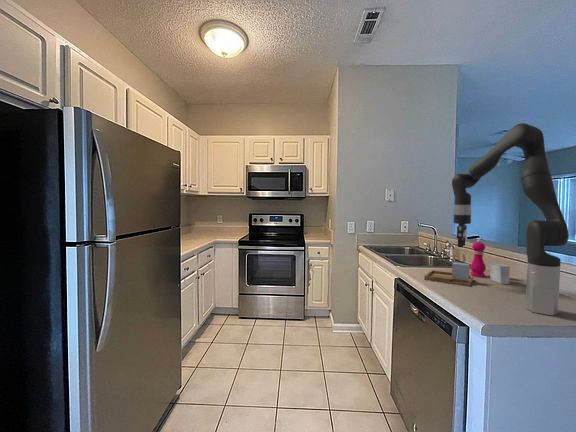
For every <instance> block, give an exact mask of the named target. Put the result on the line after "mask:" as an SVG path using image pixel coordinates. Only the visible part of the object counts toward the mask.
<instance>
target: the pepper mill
mask: <svg viewBox="0 0 576 432" xmlns="http://www.w3.org/2000/svg"><path fill="white" fill-rule="evenodd" d="M471 248H472V250H473V251H472V253H473V260H472V261H471V263H470V265H469V270H471V271H470V276H473V278H474V277H475V278H476V277H477V278H484V277H485V276H486V275H485V273H484V272H486V271H487V270H486V269H487V268H486V263H485V262H484V260H483V256H484V255H485V249H486V246H485V244H484V243H483V242H482V241H481V239H479V238H478V239H476V241H475V242H474V243H472V246H471Z"/></svg>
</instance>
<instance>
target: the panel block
mask: <svg viewBox="0 0 576 432" xmlns="http://www.w3.org/2000/svg"><path fill="white" fill-rule="evenodd" d="M451 265H452V266H451V273H452V278H456V279H462V280H469V276H470V265H471V263H464V262H455V261H453V262H452V264H451Z"/></svg>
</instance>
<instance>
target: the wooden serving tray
mask: <svg viewBox="0 0 576 432" xmlns="http://www.w3.org/2000/svg"><path fill="white" fill-rule="evenodd" d="M423 280H424V281H429V280H430V281H431V282H435V281H436V283H442V282H443V283H444V284H450V285H455V286H464V287H470V286H471V285H472V283H473V281H474V276H471V275H469V280H462V279H456V278H452V272H447V271H442V270H429V272H428V273H426V274H425V275H424V279H423ZM443 283H442V284H443Z"/></svg>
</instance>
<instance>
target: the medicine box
mask: <svg viewBox="0 0 576 432" xmlns="http://www.w3.org/2000/svg"><path fill="white" fill-rule="evenodd" d="M510 269H511V268H510V266H509V265H505V264H501V263H490V278H489V279H490V281H493V282H495V283H497V284H499V285H500V284H501V285H509V284H510V272H511V271H510Z"/></svg>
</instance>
